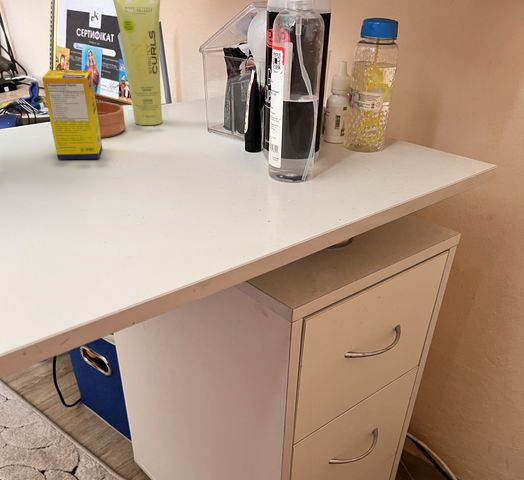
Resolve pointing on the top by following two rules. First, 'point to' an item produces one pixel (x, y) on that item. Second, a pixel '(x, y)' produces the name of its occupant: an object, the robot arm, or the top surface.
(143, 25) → the tube
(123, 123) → the shallow terracotta bowl
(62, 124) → the supplement box
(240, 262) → the top surface
